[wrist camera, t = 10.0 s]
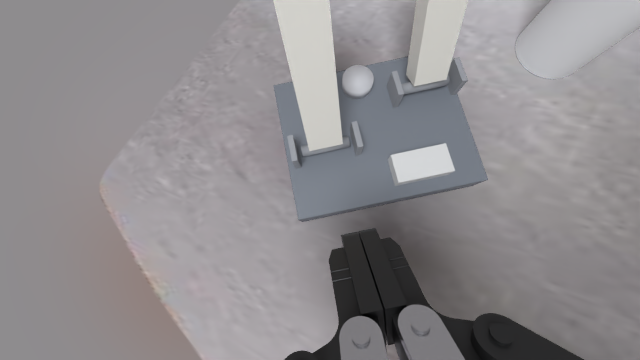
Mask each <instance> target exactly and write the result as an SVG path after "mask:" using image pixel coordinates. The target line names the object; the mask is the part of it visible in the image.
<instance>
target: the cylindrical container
mask: <svg viewBox="0 0 640 360" xmlns="http://www.w3.org/2000/svg"><path fill="white" fill-rule="evenodd" d="M639 27H640V0H551V1H550V2H549V3H548V4H547V5H546V6H545V7H544V8H543V9H542V10H541V12H540V13H539V14H538V15H537V16H536V17H535V18H534V19H533V20H532V21H531V23H530V24H529V25H528V26H527V27H526V28H525V29H524V30H523V31H522V32H521V34H520V35H519V36H518V38H517V40H516V45H515V52H516V55H517V58H518V60H519V62H520V63H521V64H522V66H523V67H524V68H525V69H527V70H528V71H529V72H531V73H532V74H534V75H536V76H539V77H542V78H546V79H560V78H564V77H567V76H569V75H571V74H573V73H574V72H576V71H577V70H578V69H580V68H581V67H583V66H584V65H586V64H587V63H589V62H590V61H592V60H593V59H594V58H596V57H597V56H599V55H600V54H602V53H603V52H605V51H606V50H607V49H609V48H610V47H612V46H613V45H615V44H616V43H618V42H619V41H620V40H622V39H623V38H625V37H626V36H628V35H629V34H631V33H632V32H634V31H635V30H636V29H638V28H639Z"/></svg>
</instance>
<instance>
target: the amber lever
mask: <svg viewBox="0 0 640 360" xmlns="http://www.w3.org/2000/svg"><path fill="white" fill-rule="evenodd" d="M273 1H274V5H275V10H276V14H277V18H278V22H279V26H280V30H281V35H282V39H283V43H284V47H285V51H286V55H287V60H288V64H289V68H290V72H291V76H292V81H293V85H294V89H295V93H296V97H297V101H298V106H299V110H300V114H301V118H302V122H303V126H304V131H305V135H306V139H307V143H308V145H304V146H301V150H302V155H303V157H304V156H309V155H314V154H318V153H323V152H328V151H333V150H337V149H342V148H347V147H350V142H349V138H348V136H346V137H342V129H341V119H340V108H339V98H338V87H337V77H336V67H335V56H334V46H333V35H332V25H331V14H330V4H329V0H273Z"/></svg>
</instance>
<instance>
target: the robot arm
mask: <svg viewBox="0 0 640 360" xmlns="http://www.w3.org/2000/svg"><path fill="white" fill-rule="evenodd" d="M341 237H342V242H343V248H338V249H333V250H332V252H331V255H330V258H329V264H330V270H331V276H332V281H333V288H334V294H335V299H336V305H337V311H338V317H339V325H338V329H337V332H336V334H335V336H334V337H333V339H332V340H331V341H330V342H329V343H328V344H326V345H325V346H323V347H322V348H320V349H319V350H317V351H315V352H314V353H310V352H307V351H297V352H294V353H292V354H290V355H289V356H288V357H287V358H286V359H285V360H388V357H387V352H386V340H387V344H388V345H391V344H395V347H396V350H397V353H398V356H399V360H584V359H582V358H580V357H578V356H576V355H574V354H573V353H571V352H569V351H567V350H565V349H563V348H562V347H560V346H558V345H556V344H554V343H552V342H551V341H549V340H547V339H545V338H543V337H541V336H540V335H538V334H536V333H534V332H532V331H531V330H529V329H527V328H525V327H523V326H521V325H520V324H518V323H516V322H514V321H512V320H510V319H509V318H507V317H504V316H502V315H499V314H494V313H487V314H483V315H481V316H479V317H478V318H477V319H476V320H475V321H469V320H461V319H454V318H449V317H446V316H443V315H441V314H440V313H438V312H436V311H435V310H434V309H433V308H432V307H431V306H430V305H429V304H428V303H427V301H426V299H425V297H424V295H423V293H422V291H421V289H420V287H419V285H418V283H417V281H416V279H415V277H414V275H413V273H412V271H411V269H410V267H409V265H408V262H407V260H406V258H405V257H404V254H403V252H402V250H401V248H400V246H399V245H398V244H397V243H396V242H395V241H393V240H392V239H391V238H386V239H381V240H380V238H379V236H378V233H377V231H376V229H375V228H373V229H368V230H363V231H359V232H354V233H349V234H344V235H341Z"/></svg>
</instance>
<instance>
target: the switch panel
mask: <svg viewBox="0 0 640 360" xmlns="http://www.w3.org/2000/svg"><path fill="white" fill-rule="evenodd" d="M407 65H408V57H404V58H399V59H395V60H390V61H385V62H381V63H376V64H371V65H367V66H363V65H354V66H351V67H349V68H348V69H347V70H344V71H339V72H336V77H337V87H338V98H339V108H340V119H341V129H342V137H346V136H348V138H349V142H350V147H347V148H342V149H337V150H333V151H328V152H323V153H318V154H314V155H309V156H304V157H303V155H302V150H301V146H304V145H308V143H307V139H306V135H305V131H304V126H303V122H302V118H301V114H300V110H299V106H298V101H297V97H296V93H295V89H294V85H293V82H288V83H283V84H279V85H274V91H275V96H276V101H277V107H278V112H279V118H280V123H281V128H282V134H283V139H284V144H285V150H286V155H287V161H288V166H289V171H290V177H291V182H292V188H293V193H294V198H295V204H296V209H297V215H298V220H300V221H302V222H304V221H309V220H313V219H318V218H323V217H328V216H332V215H337V214H342V213H346V212H351V211H356V210H361V209H365V208H370V207H375V206H379V205H384V204H389V203H394V202H398V201H403V200H408V199H413V198H417V197H422V196H427V195H431V194H436V193H441V192H446V191H450V190H455V189H460V188H464V187H469V186H473V185H475V184H478V183H481V182H483V181H486V180H488V178H487V175H486V172H485V169H484V167H483V164H482V161H481V158H480V156H479V153H478V150H477V147H476V145H475V142H474V139H473V136H472V133H471V131H470V128H469V125H468V122H467V120H466V117H465V114H464V111H463V108H462V106H461V103H460V100H459V97H458V95H457V92H458V91H459V90H460V89H461V88H462V87H463V85H464V84H465V83H466V82H467V81H468V79H467V76H466V74H465V71H464V68H463V66H462V63H461V60H460V58H459V57H458V58H454V59H453V61H452V62H451V65H450V68H449V72H448V76H449V79H450V81H449V84H448V85H446V86H442V87H437V88H432V89H428V90H423V91H418V92H414V93H409V94H404V91H403V88H402V85H401V84H404V83H409V82H411V81H410V80H409V78H408V77H407V75H406V72H407Z"/></svg>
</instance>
